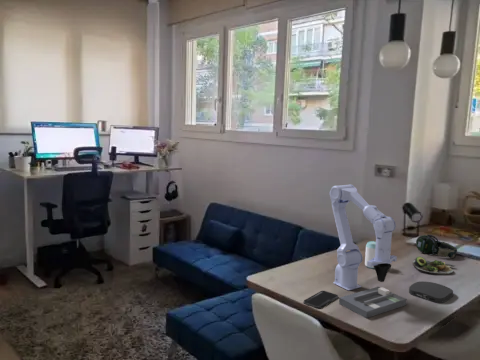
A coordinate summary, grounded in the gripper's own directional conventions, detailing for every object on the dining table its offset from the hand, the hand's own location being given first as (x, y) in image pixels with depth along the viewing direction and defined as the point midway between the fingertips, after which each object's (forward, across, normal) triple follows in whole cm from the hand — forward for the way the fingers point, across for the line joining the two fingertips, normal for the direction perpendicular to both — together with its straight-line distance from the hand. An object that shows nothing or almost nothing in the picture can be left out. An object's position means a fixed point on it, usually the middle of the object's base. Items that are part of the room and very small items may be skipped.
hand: (380, 281), depth 169 cm
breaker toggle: (+6, +1, -1) cm, 6 cm away
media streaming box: (+9, +24, -5) cm, 27 cm away
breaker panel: (+8, -5, -1) cm, 10 cm away
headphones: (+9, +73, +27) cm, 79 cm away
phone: (+9, -20, +12) cm, 25 cm away
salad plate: (+9, +51, +14) cm, 54 cm away
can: (+9, +28, +30) cm, 42 cm away
